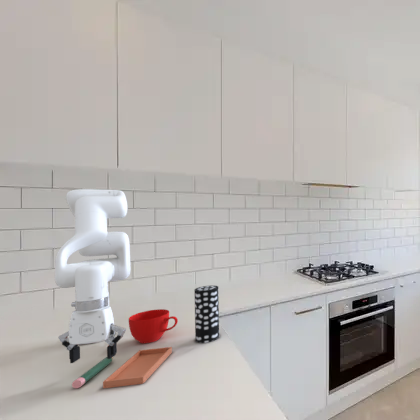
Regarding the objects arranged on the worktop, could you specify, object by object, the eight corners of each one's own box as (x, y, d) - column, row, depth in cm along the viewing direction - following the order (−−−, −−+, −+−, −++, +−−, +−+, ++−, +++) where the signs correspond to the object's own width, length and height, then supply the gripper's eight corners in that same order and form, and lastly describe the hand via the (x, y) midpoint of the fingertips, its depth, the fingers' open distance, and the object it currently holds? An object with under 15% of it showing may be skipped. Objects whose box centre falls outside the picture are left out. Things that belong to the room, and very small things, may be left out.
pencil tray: (102, 388, 89) (102, 381, 89) (139, 355, 109) (139, 350, 109) (143, 383, 91) (143, 376, 91) (172, 352, 111) (171, 346, 111)
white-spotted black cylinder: (194, 344, 117) (193, 292, 117) (196, 336, 125) (195, 286, 124) (218, 340, 120) (217, 289, 120) (219, 332, 128) (219, 284, 128)
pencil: (80, 389, 89) (82, 380, 89) (70, 387, 89) (73, 379, 89) (113, 361, 105) (116, 354, 105) (106, 360, 105) (108, 353, 105)
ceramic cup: (167, 346, 116) (167, 319, 116) (120, 348, 115) (119, 321, 115) (186, 332, 129) (185, 308, 129) (144, 333, 128) (143, 309, 128)
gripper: (49, 310, 91) (50, 368, 91) (117, 305, 95) (118, 360, 95) (68, 303, 98) (69, 357, 98) (130, 298, 102) (131, 350, 102)
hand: (93, 359), depth 96 cm, fingers open, 9 cm apart
